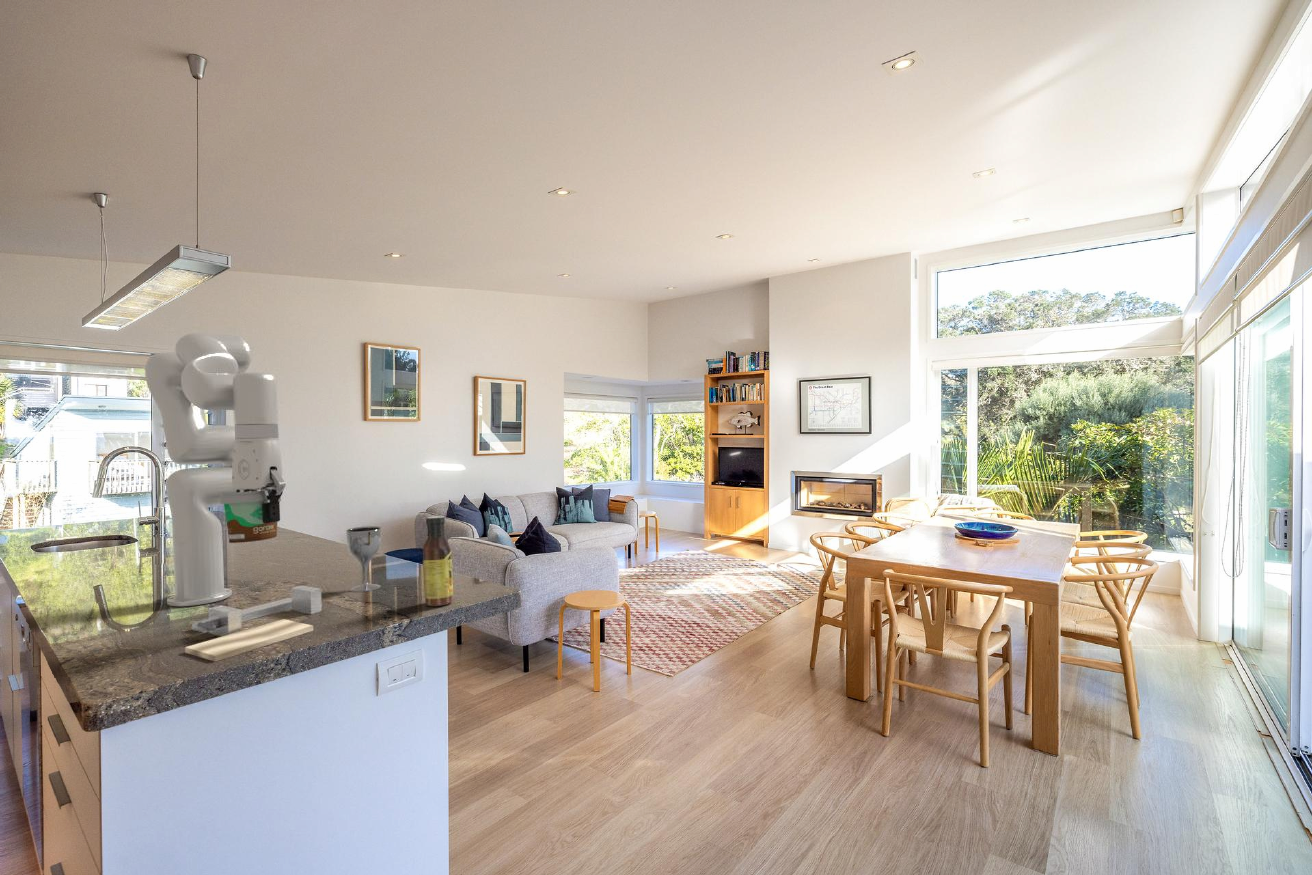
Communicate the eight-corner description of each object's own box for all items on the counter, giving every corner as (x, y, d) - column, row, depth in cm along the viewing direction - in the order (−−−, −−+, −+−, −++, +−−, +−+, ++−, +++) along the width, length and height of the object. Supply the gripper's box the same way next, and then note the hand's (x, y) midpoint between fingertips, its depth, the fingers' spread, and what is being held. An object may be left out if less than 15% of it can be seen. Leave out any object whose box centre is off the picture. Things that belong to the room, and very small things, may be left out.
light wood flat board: (185, 652, 114) (185, 647, 114) (283, 623, 130) (283, 618, 130) (215, 661, 110) (215, 655, 110) (313, 630, 126) (313, 625, 126)
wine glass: (341, 591, 155) (339, 531, 155) (361, 583, 163) (359, 526, 162) (370, 592, 154) (368, 531, 153) (389, 584, 161) (387, 526, 161)
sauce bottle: (456, 604, 142) (454, 517, 142) (428, 609, 139) (426, 519, 138) (448, 597, 148) (446, 513, 147) (421, 602, 144) (418, 516, 144)
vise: (180, 633, 126) (179, 608, 125) (289, 603, 145) (288, 582, 145) (214, 642, 120) (213, 616, 120) (323, 610, 139) (322, 588, 139)
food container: (249, 544, 121) (247, 492, 121) (222, 544, 122) (220, 493, 122) (297, 533, 133) (296, 486, 133) (273, 533, 134) (271, 486, 134)
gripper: (212, 435, 128) (216, 522, 128) (263, 433, 120) (267, 526, 120) (250, 434, 135) (254, 516, 135) (301, 432, 127) (304, 520, 127)
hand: (260, 520), depth 128 cm, fingers closed on food container, 6 cm apart
